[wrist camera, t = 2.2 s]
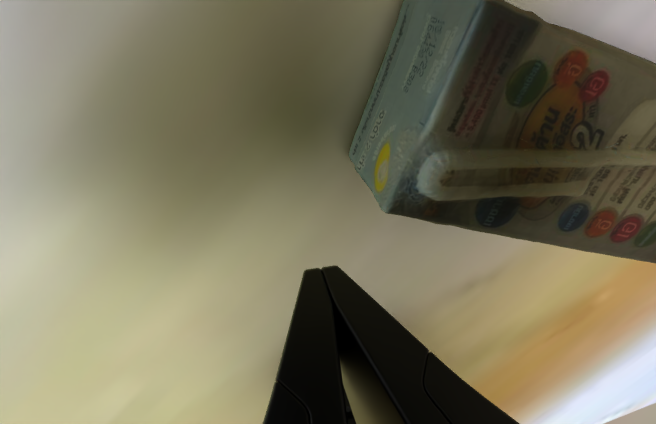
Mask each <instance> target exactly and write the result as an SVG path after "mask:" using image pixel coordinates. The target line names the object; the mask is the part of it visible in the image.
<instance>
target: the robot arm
mask: <svg viewBox="0 0 656 424" xmlns="http://www.w3.org/2000/svg"><path fill="white" fill-rule="evenodd" d="M263 424H519V423H518V422H517V421H515V420H514V419H513V418H511V417H510V416H509V415H507V414H506V413H505V412H503V411H502V410H501V409H499V408H498V407H497V406H495V405H494V404H493V403H491V402H490V401H489V400H488V399H486V398H485V397H484V396H482V395H481V394H480V393H479V392H477V391H476V390H475V389H473V388H472V387H471V386H470V385H468V384H467V383H466V382H465V381H463V380H462V379H461V378H460V377H459V376H457V375H456V374H455V373H454V372H453V371H452V370H451V369H449V368H448V367H447V366H446V365H445V364H444V363H443V362H442V361H440V360H439V359H438V358H437V357H436V356H435V355H434V354H433V353H432V352H429V350H428V349H427V348H426V347H425V346H424V345H423V344H422V343H421V342H420V341H419V340H417V339H416V338H415V337H414V336H413V335H412V334H411V333H410V332H409V331H408V330H407V329H405V328H404V327H403V326H402V325H401V324H400V323H399V322H398V321H397V320H396V319H395V318H394V317H392V316H391V315H390V314H389V313H388V312H387V311H386V310H385V309H384V308H383V307H382V306H380V305H379V304H378V303H377V302H376V301H375V300H374V299H373V298H372V297H371V296H370V295H369V294H367V293H366V292H365V291H364V290H363V289H362V288H361V287H360V286H359V285H358V284H357V283H355V282H354V281H353V280H352V279H351V278H350V277H349V276H348V275H347V274H346V273H345V272H344V271H342V270H341V269H340V268H339V267H338V266H328V267H323V268H322V269H320V268H314V269H308V270H305V271H304V273H303V277H302V281H301V285H300V289H299V292H298V296H297V300H296V304H295V308H294V312H293V315H292V319H291V323H290V327H289V331H288V334H287V338H286V342H285V346H284V350H283V353H282V357H281V361H280V365H279V369H278V372H277V376H276V382H275V383H274V387H273V391H272V394H271V398H270V401H269V405H268V408H267V411H266V415H265V418H264V421H263Z"/></svg>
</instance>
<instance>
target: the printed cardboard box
mask: <svg viewBox="0 0 656 424" xmlns="http://www.w3.org/2000/svg"><path fill="white" fill-rule="evenodd" d="M349 157H350V160H351V161H352V162H353V163H354V165H355V169H356V171H357V172H358V173H359V174H360V176H361V178H362V179H363V180H364V182H365V183H366V184H367V185H368V187H369V188H370V189H371V191H372V192H373V194H374V196H375V198H376V200H377V202H378V203H379V206H380V208H381V210H382V211H384V212H385V213H388V214H395V215H401V216H406V217H411V218H416V219H420V220H424V221H428V222H432V223H435V224H442V225H452V226H457V227H460V228H464V229H469V230H473V231H479V232H485V233H491V234H497V235H502V236H506V237H511V238H516V239H522V240H528V241H532V242H540V243H545V244H550V245H555V246H560V247H565V248H571V249H576V250H581V251H586V252H593V253H599V254H605V255H610V256H615V257H621V258H628V259H634V260H639V261H645V262H651V263H656V64H655V63H653V62H651V61H648V60H646V59H644V58H641V57H638V56H636V55H633V54H631V53H629V52H626V51H624V50H621V49H619V48H616V47H614V46H611V45H609V44H606V43H604V42H601V41H599V40H596V39H594V38H591V37H589V36H586V35H583V34H581V33H578V32H576V31H573V30H570V29H567V28H564V27H560V26H557V25H554V24H549V23H547V22H545V21H543V20H542V19H541V18H540V17H538V16H537V15H536V14H534V13H533V12H529V11H524V10H521V9H519V8H517V7H515V6H513V5H511V4H509V3H507V2H506V1H504V0H404V1H403V3H402V7H401V10H400V13H399V17H398V20H397V23H396V26H395V28H394V31H393V34H392V37H391V40H390V43H389V46H388V49H387V52H386V55H385V57H384V60H383V63H382V65H381V68H380V70H379V73H378V76H377V78H376V81H375V84H374V86H373V89H372V92H371V95H370V97H369V100H368V102H367V105H366V107H365V110H364V112H363V115H362V118H361V121H360V124H359V126H358V128H357V131H356V133H355V136H354V139H353V142H352V145H351V148H350V151H349Z"/></svg>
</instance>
